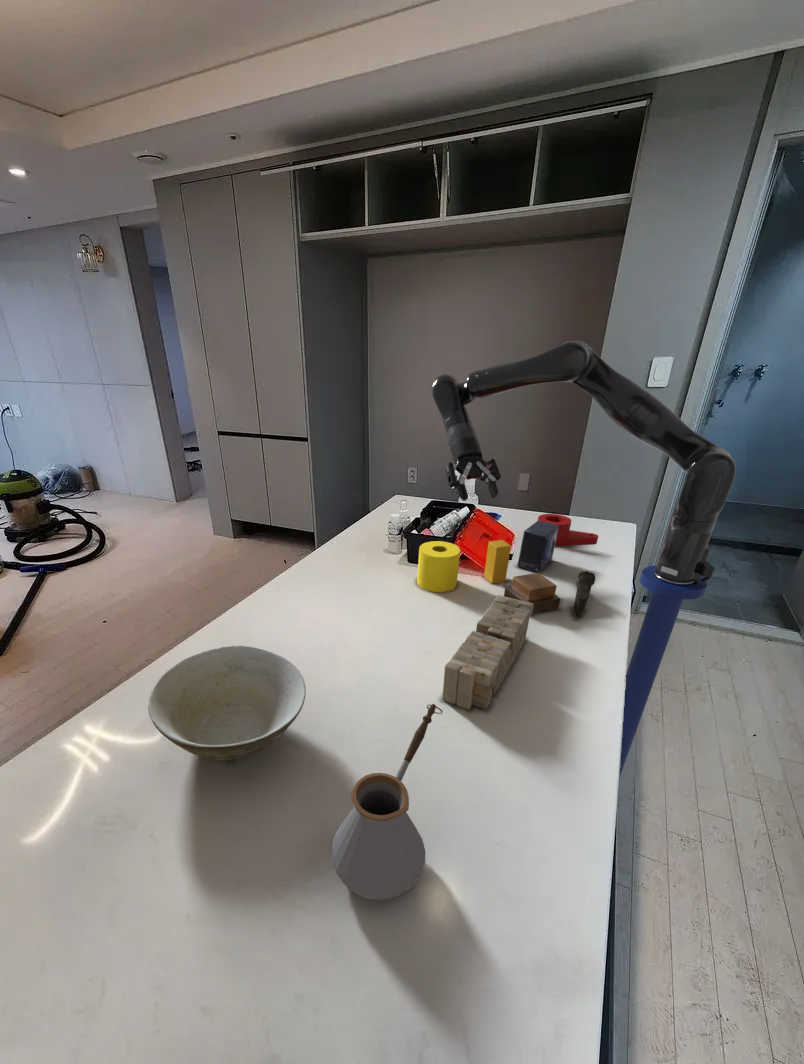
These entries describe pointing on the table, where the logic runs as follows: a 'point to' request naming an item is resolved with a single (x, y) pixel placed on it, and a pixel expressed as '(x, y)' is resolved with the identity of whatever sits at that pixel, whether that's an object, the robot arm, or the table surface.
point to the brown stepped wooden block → (534, 592)
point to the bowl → (227, 701)
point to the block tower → (487, 654)
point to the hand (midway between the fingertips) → (480, 497)
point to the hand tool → (583, 591)
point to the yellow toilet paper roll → (438, 566)
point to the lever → (568, 531)
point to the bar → (497, 561)
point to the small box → (537, 546)
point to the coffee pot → (381, 833)
